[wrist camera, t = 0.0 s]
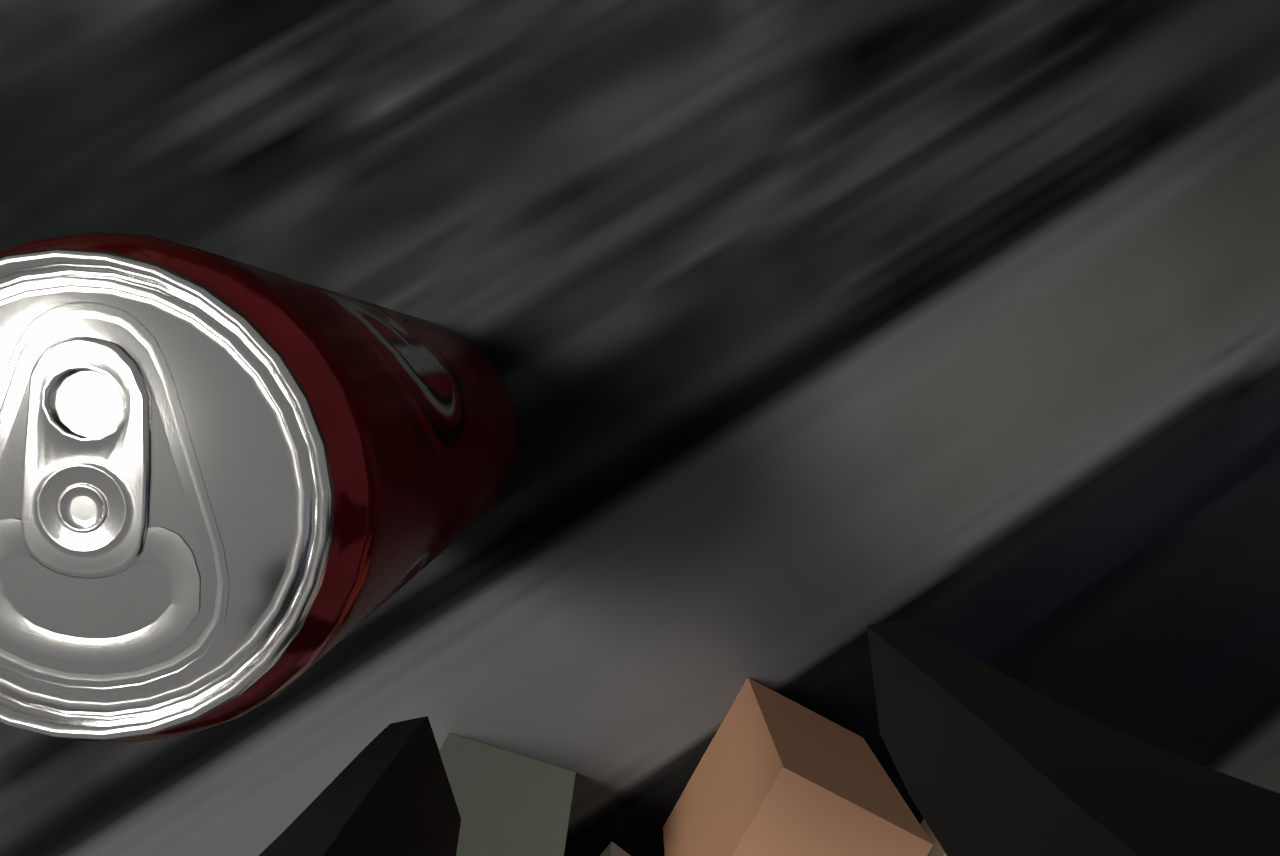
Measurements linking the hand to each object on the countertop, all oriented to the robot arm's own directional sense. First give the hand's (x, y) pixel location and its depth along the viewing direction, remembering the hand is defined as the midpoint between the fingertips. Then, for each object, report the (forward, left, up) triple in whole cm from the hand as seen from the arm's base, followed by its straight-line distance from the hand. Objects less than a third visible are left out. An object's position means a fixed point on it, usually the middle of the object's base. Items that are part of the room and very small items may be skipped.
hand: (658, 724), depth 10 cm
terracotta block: (-5, -7, -11) cm, 14 cm away
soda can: (0, +9, -11) cm, 14 cm away
